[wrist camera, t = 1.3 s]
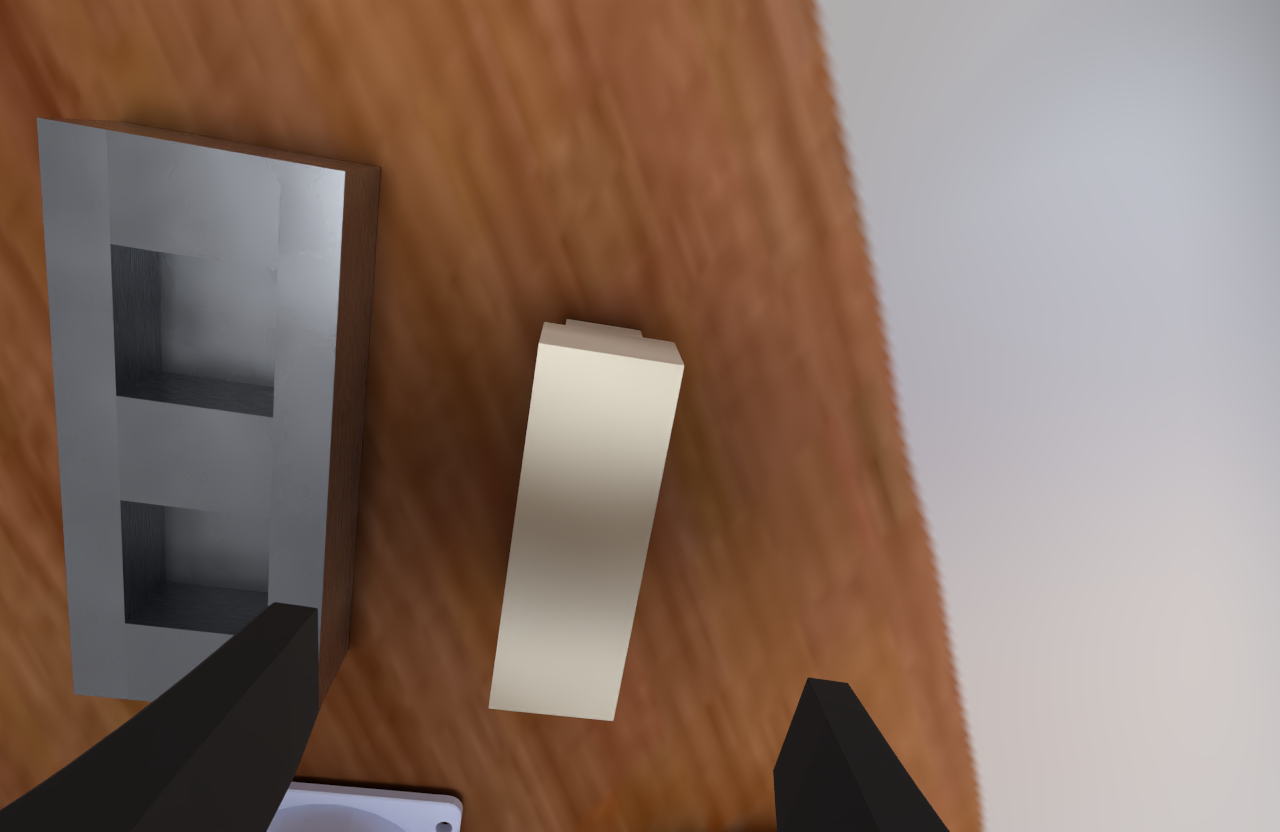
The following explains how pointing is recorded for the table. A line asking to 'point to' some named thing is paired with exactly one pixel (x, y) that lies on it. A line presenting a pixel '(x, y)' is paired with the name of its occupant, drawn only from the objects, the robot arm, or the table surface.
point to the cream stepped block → (583, 517)
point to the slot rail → (203, 390)
